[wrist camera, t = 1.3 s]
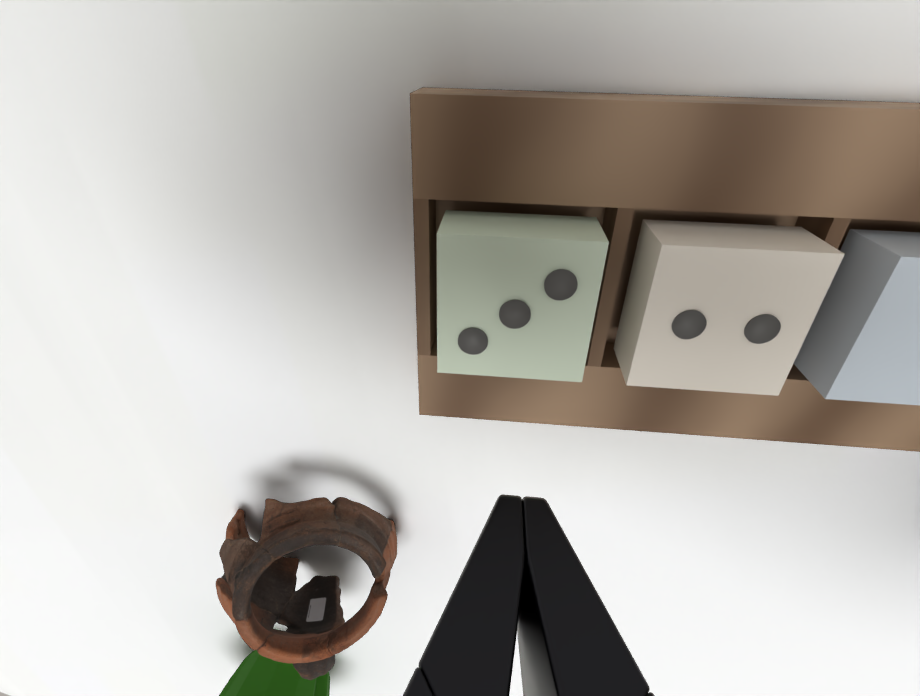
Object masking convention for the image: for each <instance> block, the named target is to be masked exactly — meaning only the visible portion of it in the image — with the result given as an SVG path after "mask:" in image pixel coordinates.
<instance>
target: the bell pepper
mask: <svg viewBox="0 0 920 696" xmlns="http://www.w3.org/2000/svg"><path fill="white" fill-rule="evenodd" d="M329 690H330V676H329V671H328V672H327V673H326V674H325V675H323V676H319V677H317V678H315V679H313V680H308V679H304V678H302V677H301V676H300V674H299V673H298V672H297V670H296V669H295V668H294V666H293V663H282V662H278V661H274V660H272V659H269V658H266V657H263V656H261V655H260V654H259V653H258V652H257V650H254V651H253V652H252V653H251V654H249V655H248V656H247V657H246V658H245V659H244V660H243V662H242V663H241V665H240V666H239V667H238V669H237V670H236V671H235V673H234V674H233V675H232V677H231V678H230V680H229V681H228V683H227V684H226V686H225V687H224V689H223V690H222V692H221V693H220V695H219V696H329Z"/></svg>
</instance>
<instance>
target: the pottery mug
mask: <svg viewBox="0 0 920 696" xmlns="http://www.w3.org/2000/svg"><path fill="white" fill-rule="evenodd" d="M313 545H334V546H338V547H341V548H345V549H348V550H350V551H352V552H354V553H355V554H357V555H359V556H360V557H361V558H362V559H363V560H364V561H365V562H366V564H367V565H368V566H369V568H370V570H371V572H372V575H373V577H374V578H375V582H374V584H373V586H372V588H371V591H370V594H369V596H368V598H367V600H366V602H365V603H364V605H363V606H362V608H361V609H360V610H359V611H358V612H357V613H356V614H355V615H354V616H353V617H352V618H351V619H349V620H348V621H347V622H345V620H344V619H343V610H342V608H341V606H340V594H341V589H340V588H339V578H338V577H337V576H327V577H325V576H315V577H313V578H312V579H311V581H310V582H308V583H306V584H305V585H304V586H303V587H302V588H300V589H299V590H298V591H295V586H296V580H297V578H296V572H297V569H298V564H299V559H298V558H286V557H282V556H284V555H286V554H289V553H291V552H293V551H296V550H298V549H301V548H304V547H308V546H313ZM219 554H220V557H221V560H222V563H223V568H224V575H223V576H222V578H218V579H217V581H216V589H217V594H218V598H219V600H220V603H221V605H222V607H223V609H224V610H225V612H226V613H227V614H228V616H229V617H230V618H231V620H232V621H233V622H234V623H235V625H236V628H237V630H238V632H239V634H240V635H241V637H242V639H243V640H244V641H245V643H246V644H247V645H248V646H249V647H250V648H251V649H253V650H257V652H258V653H259V654H260V655H261V656H263V657H266V658H269V659H272V660H274V661H278V662H282V663H293V666H294V668H295V669H296V670H297V672H298V673H299V674H300V676H301V677H302V678H304V679H308V680H313V679H315V678H317V677H319V676H323V675H325V674H326V673H327V672H328V671H329V670H330V669H331V668H332V667H333V666H334V664H335V654H338V653H340V652H341V651H343V650H345V649H347V648H348V647H349V646H351V645H352V644H354V643H355V642H356V641H358V640H359V639H360V638H362V637H363V636H364V635H365V634H366V633H367V632H368V631H369V629H370V628H371V627H372V626H373V625H374V624H375V622H376V620H377V619H378V618H379V616H380V615H381V613H382V610H383V608H384V606H385V603H386V600H387V595H388V594H387V592H386V590H385V589H386V586H387V584H388V581H389V577H390V570H391V568H392V566H393V563H394V561H395V558H396V555H397V536H396V530H395V524H394V521H393V520H389V519H387V518H386V517H384V516H383V515H381V514H380V513H378V512H376V511H374V510H372V509H370V508H369V507H367V506H365V505H362V504H360V503H357V502H354V501H351V500H349V499H347V498H343V497H338V498H336V499H335V500H334V501H333V502H332V503H331V502H330V501H329V500H328V499H327V498H324V497H323V498H314V499H311V500H307V501H301V502H296V503H282V502H279V501H277V500H275V499H266V500H265V511H264V516H263V524H262V533H261V537H260V540H259V542H255V541H253V540H252V539H250V537H249V535H248V532H247V529H246V525H245V519H244V511H243V510H241V509H239V510H238V511H237V512H236V514H235V515H234V517H233V518H232V520H231V521H230V522H229V524H228V526H227V530H226V540H225V541H224V543H223V545H222V546H221V549H220V552H219ZM276 622H278V623H279V624H281V625H285V626H287V627H288V628H287V630H286V631H280V630H276V629H273V626H274V624H275V623H276Z"/></svg>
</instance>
